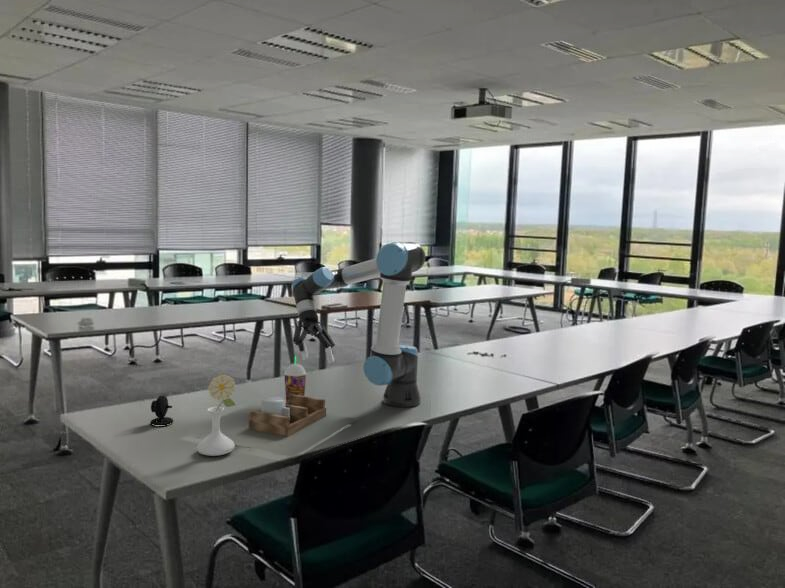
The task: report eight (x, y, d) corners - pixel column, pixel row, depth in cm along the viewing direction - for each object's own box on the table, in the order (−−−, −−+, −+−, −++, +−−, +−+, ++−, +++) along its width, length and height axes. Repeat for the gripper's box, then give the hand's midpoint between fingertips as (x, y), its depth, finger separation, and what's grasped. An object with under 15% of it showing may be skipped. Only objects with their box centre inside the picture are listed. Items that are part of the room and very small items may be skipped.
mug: (256, 426, 212) (256, 401, 211) (270, 420, 220) (270, 395, 218) (282, 431, 208) (282, 405, 207) (295, 424, 215) (295, 399, 214)
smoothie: (287, 411, 234) (288, 359, 232) (281, 405, 242) (281, 355, 239) (309, 409, 238) (309, 357, 236) (301, 403, 245) (302, 353, 243)
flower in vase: (188, 455, 190) (187, 375, 187) (212, 443, 200) (211, 367, 197) (224, 462, 185) (224, 380, 182) (246, 449, 196) (246, 371, 193)
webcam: (155, 419, 222) (155, 392, 221) (176, 420, 222) (176, 393, 220) (146, 427, 214) (145, 398, 213) (168, 427, 214) (167, 399, 213)
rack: (326, 419, 226) (326, 399, 225) (288, 440, 204) (288, 418, 203) (289, 413, 233) (289, 393, 232) (248, 432, 211) (248, 411, 210)
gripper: (324, 322, 263) (335, 368, 253) (277, 312, 244) (287, 361, 235) (335, 314, 259) (347, 360, 249) (289, 303, 240) (300, 352, 231)
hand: (318, 360), depth 242 cm, fingers open, 13 cm apart
